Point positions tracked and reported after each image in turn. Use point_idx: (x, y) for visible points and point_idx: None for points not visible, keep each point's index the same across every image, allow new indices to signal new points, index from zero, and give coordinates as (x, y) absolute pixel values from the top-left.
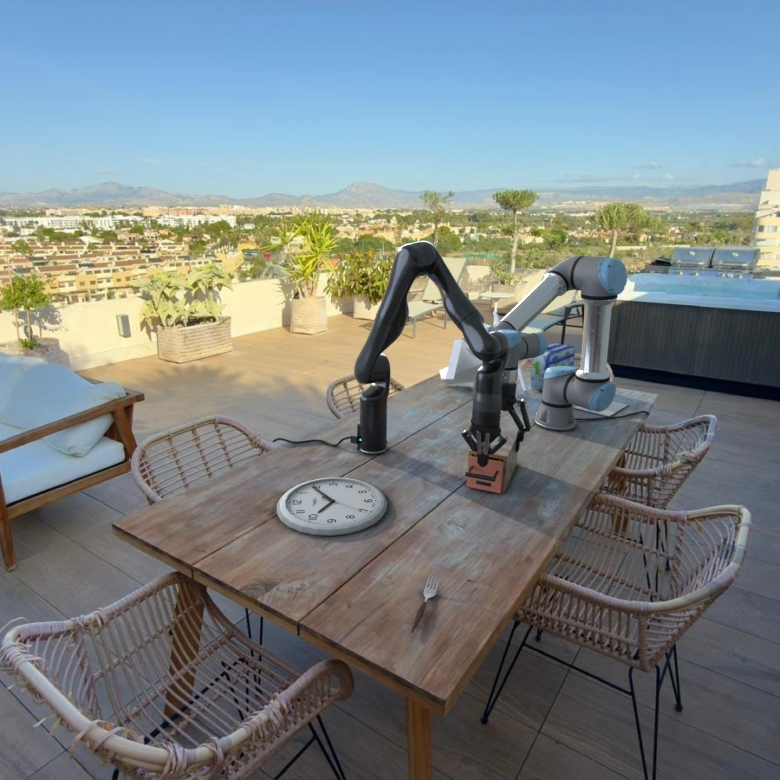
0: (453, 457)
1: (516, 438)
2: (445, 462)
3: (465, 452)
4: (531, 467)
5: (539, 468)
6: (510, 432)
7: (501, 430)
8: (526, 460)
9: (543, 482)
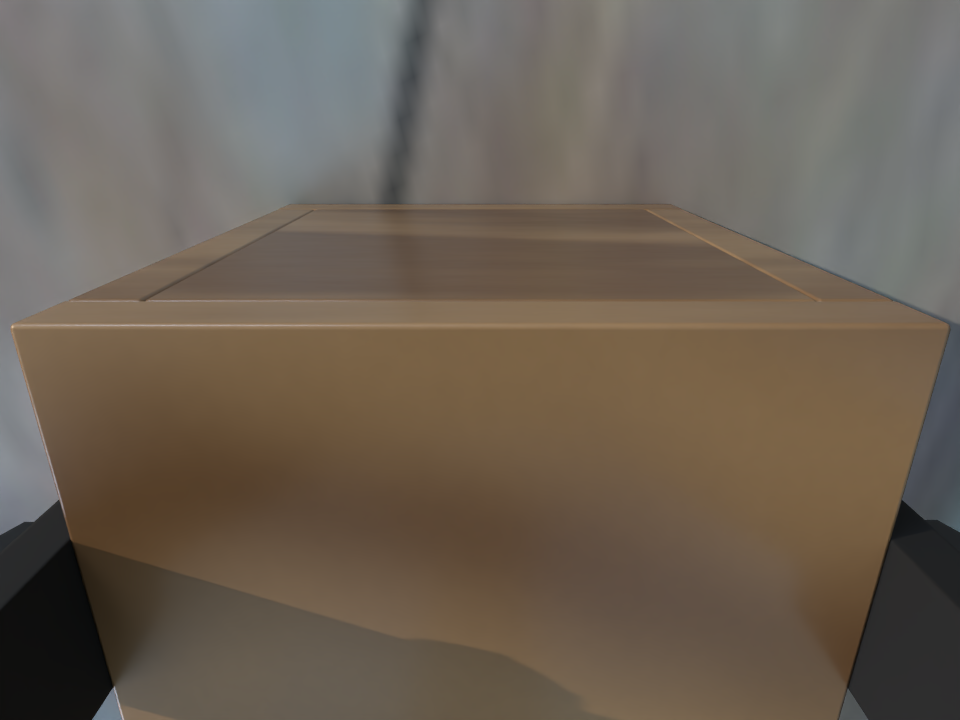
0: (9, 322)
1: (841, 707)
2: (10, 459)
3: (46, 128)
4: (832, 215)
5: (919, 203)
6: (709, 482)
7: (481, 450)
8: (781, 34)
9: (921, 483)
